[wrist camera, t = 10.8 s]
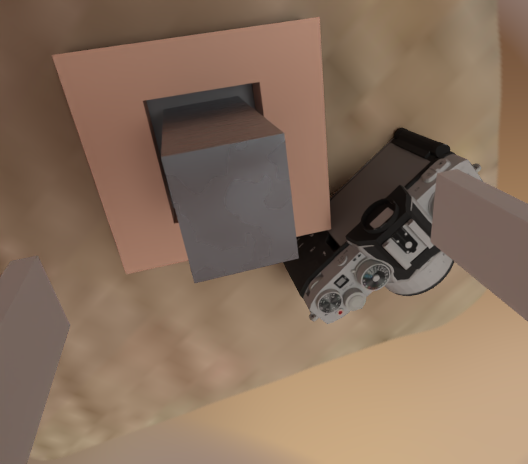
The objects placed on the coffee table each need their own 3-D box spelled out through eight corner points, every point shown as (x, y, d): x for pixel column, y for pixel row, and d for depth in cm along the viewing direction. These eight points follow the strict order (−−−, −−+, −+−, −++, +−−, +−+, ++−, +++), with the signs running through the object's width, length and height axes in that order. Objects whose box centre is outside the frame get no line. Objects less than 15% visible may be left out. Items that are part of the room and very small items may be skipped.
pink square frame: (66, 53, 24) (51, 55, 21) (301, 19, 26) (319, 16, 23) (130, 250, 31) (126, 274, 28) (315, 211, 33) (331, 229, 30)
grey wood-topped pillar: (163, 109, 26) (161, 157, 16) (237, 95, 27) (284, 133, 16) (184, 193, 29) (194, 283, 18) (251, 179, 30) (298, 258, 19)
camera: (324, 303, 37) (373, 385, 28) (258, 249, 33) (291, 325, 24) (454, 184, 35) (551, 234, 26) (399, 110, 31) (493, 139, 22)
